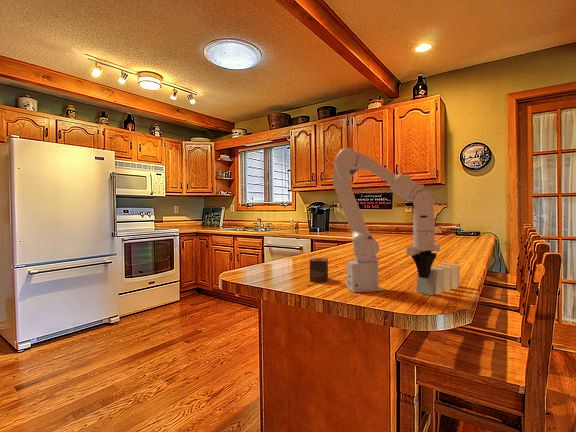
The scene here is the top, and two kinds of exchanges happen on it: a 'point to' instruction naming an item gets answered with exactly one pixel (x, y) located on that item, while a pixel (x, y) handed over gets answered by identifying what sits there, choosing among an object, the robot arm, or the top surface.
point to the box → (319, 269)
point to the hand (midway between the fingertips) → (423, 277)
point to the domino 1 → (427, 283)
